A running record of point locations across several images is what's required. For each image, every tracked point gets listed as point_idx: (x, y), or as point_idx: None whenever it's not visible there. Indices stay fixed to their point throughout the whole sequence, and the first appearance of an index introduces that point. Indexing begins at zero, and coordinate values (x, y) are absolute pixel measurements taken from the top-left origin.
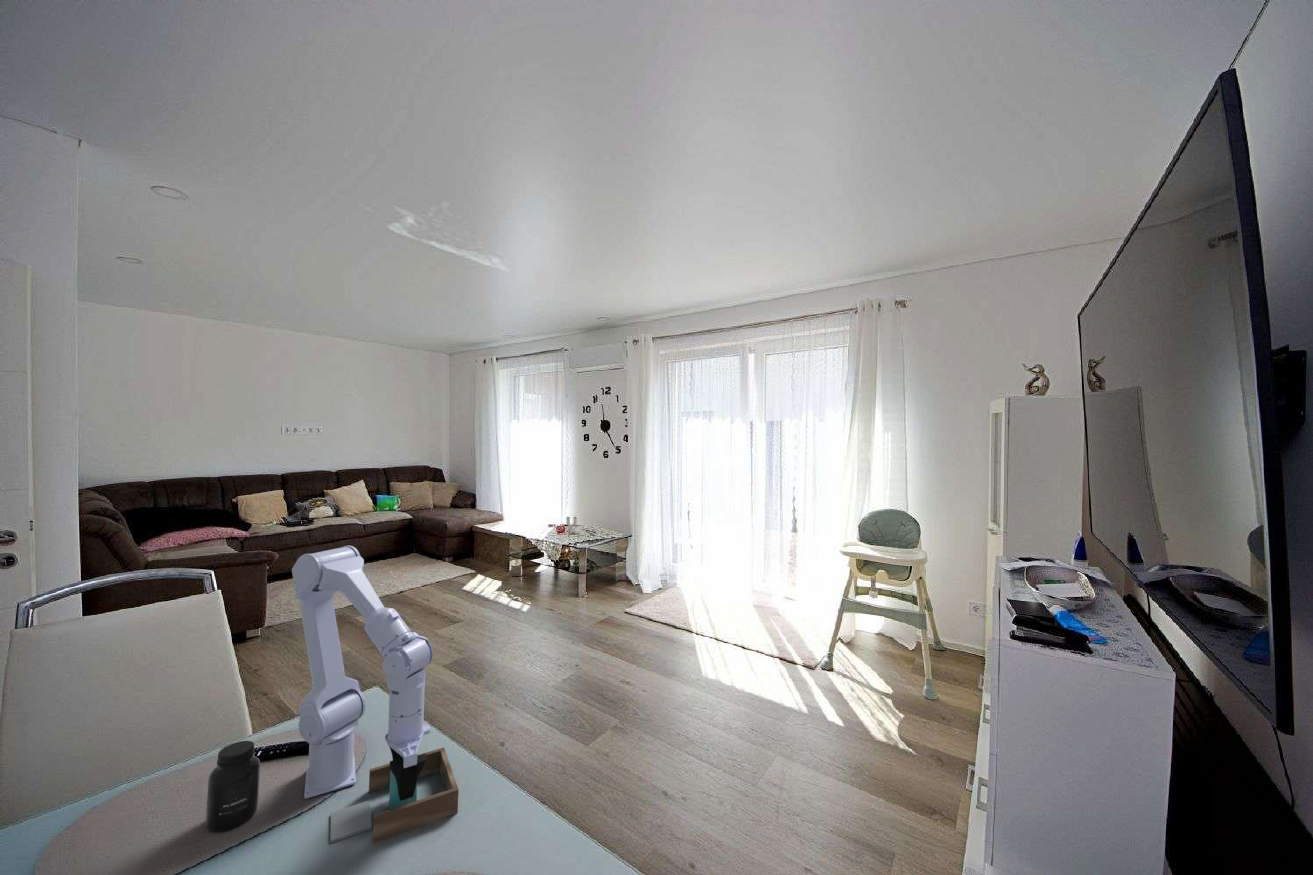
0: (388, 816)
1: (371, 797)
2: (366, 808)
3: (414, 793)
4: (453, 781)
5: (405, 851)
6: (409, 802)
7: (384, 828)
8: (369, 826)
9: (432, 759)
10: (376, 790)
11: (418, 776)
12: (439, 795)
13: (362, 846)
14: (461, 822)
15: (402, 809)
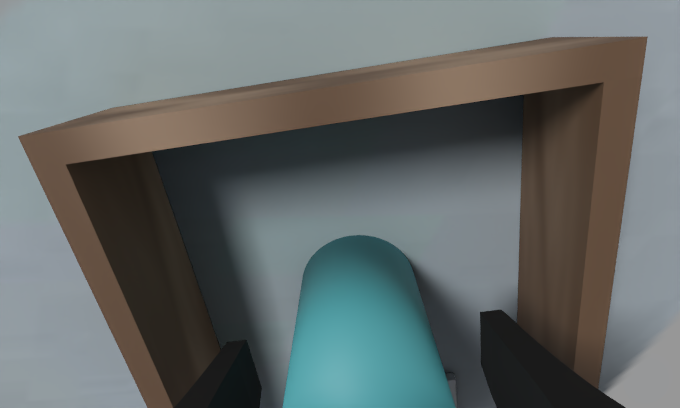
0: None
1: (265, 385)
2: None
3: (397, 276)
4: (521, 73)
5: (656, 264)
6: (414, 280)
7: None
8: (451, 384)
9: (117, 199)
10: None
11: (605, 395)
12: (617, 176)
13: None
14: (645, 19)
15: (601, 356)
